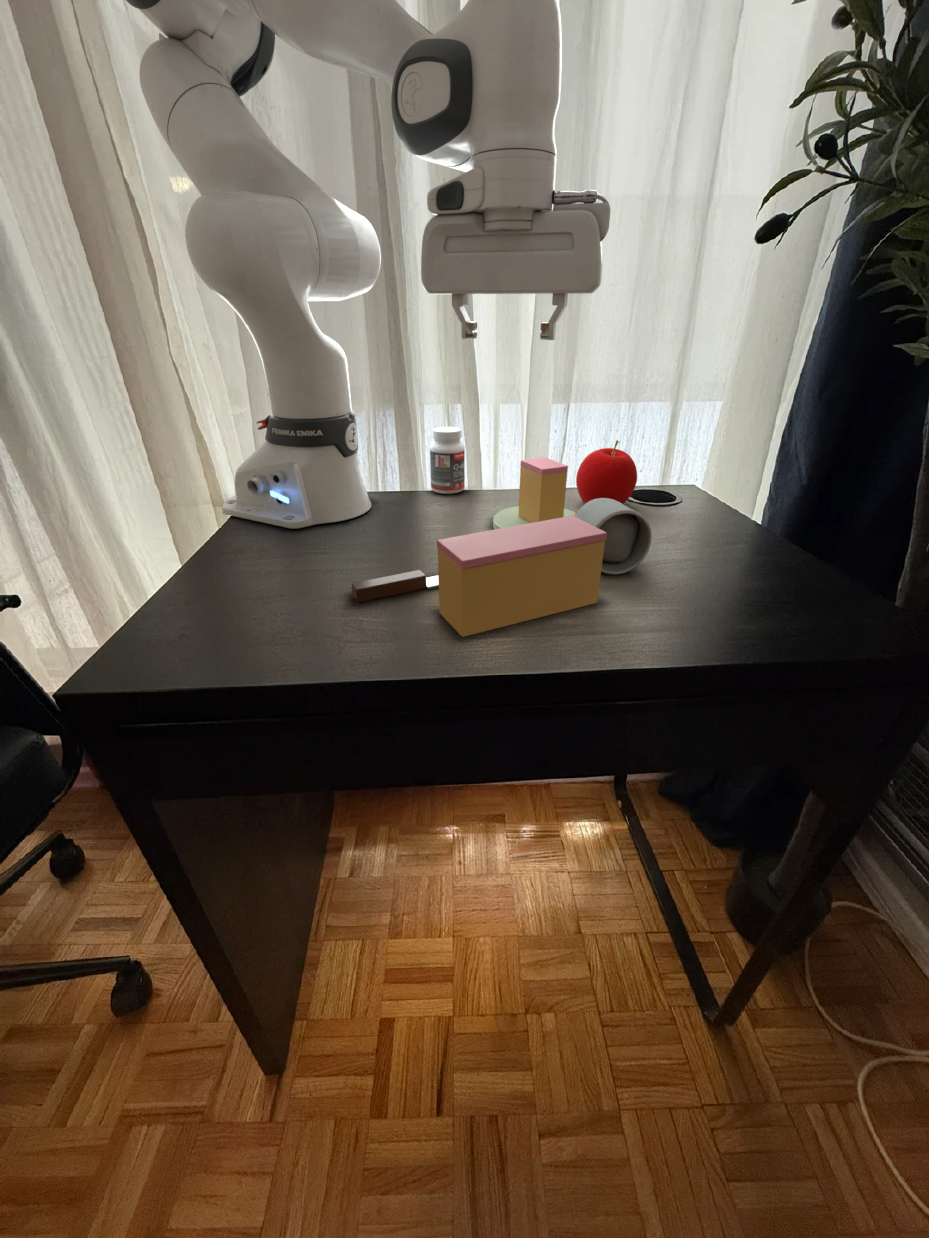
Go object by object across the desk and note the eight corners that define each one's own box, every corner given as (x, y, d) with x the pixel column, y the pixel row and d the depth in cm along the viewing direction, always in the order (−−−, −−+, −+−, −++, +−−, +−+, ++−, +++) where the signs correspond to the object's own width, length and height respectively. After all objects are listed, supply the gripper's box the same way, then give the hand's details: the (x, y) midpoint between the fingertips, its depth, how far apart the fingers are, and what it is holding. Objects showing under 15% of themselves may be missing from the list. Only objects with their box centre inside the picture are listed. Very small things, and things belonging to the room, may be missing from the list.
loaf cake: (462, 638, 54) (462, 561, 50) (438, 612, 59) (436, 539, 55) (598, 603, 60) (607, 532, 56) (566, 582, 65) (573, 515, 61)
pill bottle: (460, 495, 93) (460, 433, 89) (427, 493, 94) (425, 432, 90) (467, 486, 98) (467, 426, 93) (435, 484, 99) (434, 425, 94)
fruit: (627, 518, 84) (637, 449, 79) (567, 510, 87) (573, 443, 82) (637, 500, 91) (647, 436, 86) (581, 494, 94) (588, 431, 89)
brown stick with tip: (358, 604, 60) (356, 590, 60) (352, 595, 62) (350, 581, 61) (520, 569, 68) (521, 557, 67) (510, 562, 70) (510, 550, 69)
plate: (482, 537, 77) (482, 530, 77) (504, 507, 88) (505, 501, 88) (578, 547, 74) (579, 540, 73) (589, 515, 85) (590, 509, 84)
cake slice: (538, 528, 77) (542, 469, 73) (518, 516, 82) (520, 460, 78) (563, 523, 79) (568, 466, 75) (541, 512, 83) (545, 457, 79)
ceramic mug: (619, 546, 74) (627, 488, 70) (648, 572, 67) (657, 509, 63) (541, 553, 73) (544, 494, 69) (561, 580, 65) (566, 516, 62)
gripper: (615, 193, 60) (600, 339, 67) (432, 202, 65) (436, 336, 72) (610, 183, 55) (594, 342, 62) (412, 194, 60) (418, 339, 67)
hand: (507, 339), depth 67 cm, fingers open, 8 cm apart
